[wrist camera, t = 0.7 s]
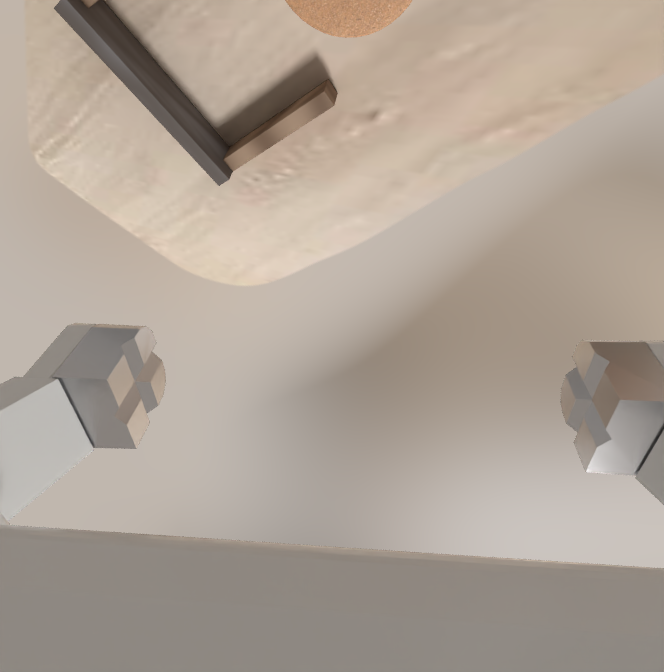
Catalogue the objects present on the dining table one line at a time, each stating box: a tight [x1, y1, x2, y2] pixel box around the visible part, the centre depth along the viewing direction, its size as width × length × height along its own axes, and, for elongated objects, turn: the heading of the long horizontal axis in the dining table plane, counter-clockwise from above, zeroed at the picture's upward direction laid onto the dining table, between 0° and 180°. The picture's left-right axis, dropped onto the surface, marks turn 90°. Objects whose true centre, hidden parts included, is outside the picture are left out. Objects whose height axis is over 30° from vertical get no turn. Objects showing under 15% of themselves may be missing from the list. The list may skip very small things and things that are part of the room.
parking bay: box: [54, 0, 338, 186], centre depth 43 cm, size 14×19×4 cm
